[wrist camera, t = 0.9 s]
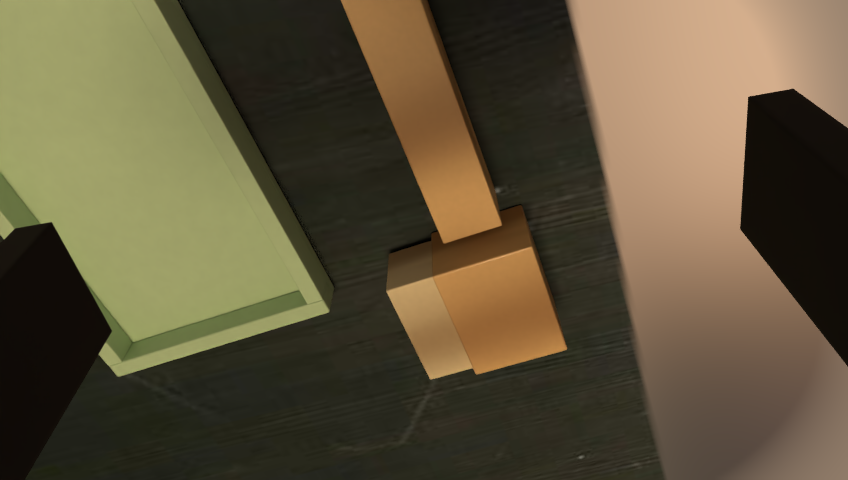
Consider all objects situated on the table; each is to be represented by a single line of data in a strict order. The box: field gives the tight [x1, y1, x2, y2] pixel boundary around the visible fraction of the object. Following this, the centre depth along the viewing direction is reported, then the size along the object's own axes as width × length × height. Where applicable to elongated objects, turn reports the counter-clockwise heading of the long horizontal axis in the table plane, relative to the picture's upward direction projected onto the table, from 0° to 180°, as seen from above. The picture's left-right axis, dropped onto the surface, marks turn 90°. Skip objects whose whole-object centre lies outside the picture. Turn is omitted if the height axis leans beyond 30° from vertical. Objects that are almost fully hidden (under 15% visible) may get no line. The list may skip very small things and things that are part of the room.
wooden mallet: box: [341, 0, 567, 379], centre depth 29 cm, size 19×7×4 cm, turn 20°
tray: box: [0, 0, 334, 377], centre depth 28 cm, size 23×12×2 cm, turn 20°
